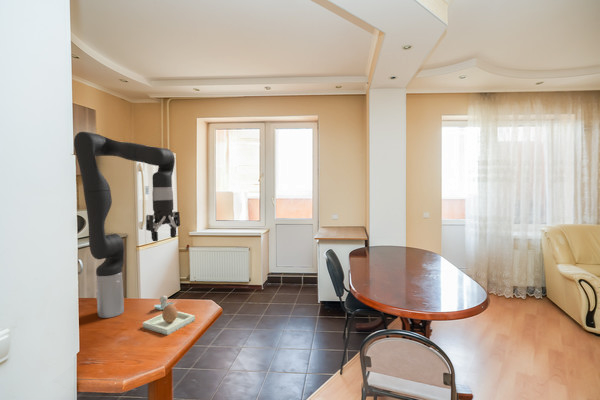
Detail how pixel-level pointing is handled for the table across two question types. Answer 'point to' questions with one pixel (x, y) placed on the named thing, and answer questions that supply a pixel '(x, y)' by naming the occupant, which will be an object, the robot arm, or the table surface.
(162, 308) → the pacifier
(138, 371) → the table surface
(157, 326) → the dish
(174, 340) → the table surface
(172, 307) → the egg
